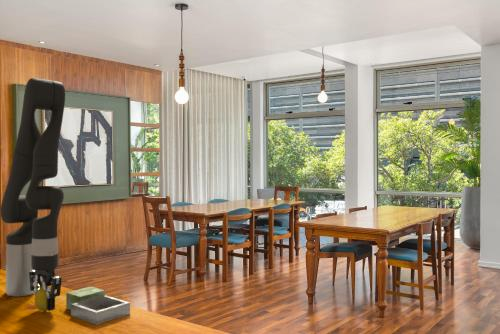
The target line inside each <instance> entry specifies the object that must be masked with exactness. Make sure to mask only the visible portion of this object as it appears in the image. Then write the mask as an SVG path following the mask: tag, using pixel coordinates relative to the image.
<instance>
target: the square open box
mask: <svg viewBox="0 0 500 334" xmlns="http://www.w3.org/2000/svg"><path fill="white" fill-rule="evenodd" d="M105 294H106V290H104V289H101V288H98V287H95V286H87V287H83V288H79V289H75V290H71V291H67V292H66V293H65V295H66V296H65V297H66V300H65V303H66V304H65V309H67V310H69V311H70V316H71V317H73V318H76V319H79V320H82V321H85V322H87V323H89V324H92V325H96V326H97V325H101V324H103V323H107V322H109V321H112V320H116V319H119V318H121V317H125V316H129V315H130V314H131V302H130V301H126V300H122V299H120V298H116V297H112V296H109V295H105Z"/></svg>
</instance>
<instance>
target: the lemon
mask: <svg viewBox="0 0 500 334" xmlns="http://www.w3.org/2000/svg"><path fill="white" fill-rule="evenodd" d="M49 291H50V294H51V290H49ZM35 305H36V306H35ZM34 306H35V307H36V308H37V310H39V311H42V312H43V313H46V312H48V310H47V295H46V292H45V291H44V289H43V287H42V288H40V289H39V290H38V291H37V292H36V295H35V294H34Z"/></svg>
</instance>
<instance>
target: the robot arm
mask: <svg viewBox="0 0 500 334" xmlns="http://www.w3.org/2000/svg"><path fill="white" fill-rule="evenodd" d="M23 94H24V95H23V102H22V109H21V115H20V116H21V118H20V125H19V129H18V134H17V138H16V141H15V146H14V150H13V155H12V161H11V168H10V172H9V177H8V181H7V185H6V186H5V191H4V194H3V198H2V199H1V205H0V218H1V220H2V221H3V222H4V223H5V224H21V223H22V224H21V226H20V227H18V229H16V230H14V231H12V232H10V233H8V234H7V235H6V238H5V239H6V240H5V244H6V245H5V246H6V248H5V249H6V251H5V254H6V257H5V258H6V264H5V293H6V295H7V296H8V297H25V296H31V295H34V296H35V295H36V292H37V291H38V290H39V289H40V288H42V287H43V289H44V291H45V292H46V295H47V312H48V311H49V312H50V311H53V310H55V309H56V297H60V296H61V287H62V276H56V272H55V270H56V269H58V267H59V241H58V224H59V221H58V220H59V216H60V212H61V208H62V206H63V202H64V200H65V199H64V198H65V195H64V191H63V189H62V187H60V186H58V185H40V184H41V183H42V182H43V181H44V180H49V179H54V178H56V177H57V176H58V174H59V173H58V171H59V146H60V145H59V143H60V137H61V131H62V126H63V125H62V124H63V119H64V118H63V117H64V111H65V105H66V104H65V103H66V88H65V85H64V84H63V83H62V82H61V81H57V80H49V79H44V78H37V77H30V78H29V79H28V80H27V82H26V84H25V89H24V93H23ZM37 110H42V111H48V112H51V114H50V115H51V116H50V120H49V123H48V124H47V126H46V128H45V130H44V131H43V133H41V130H40V129H39V127H38V124H37V121H36V117H35V116H36V115H35V113H36V111H37ZM28 183H29V185H28V188H27V191H26V194H23V195H22V194H21V193H22V191H23V189H24V188H25V187H26V186H27V184H28ZM39 210H44V211H45V210H46V211H47V210H50V212H49V213H48V215H44V216H41V217H40V216H39ZM49 290H51V294H50V291H49ZM34 306H35V307H36V305H35V304H34Z"/></svg>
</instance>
